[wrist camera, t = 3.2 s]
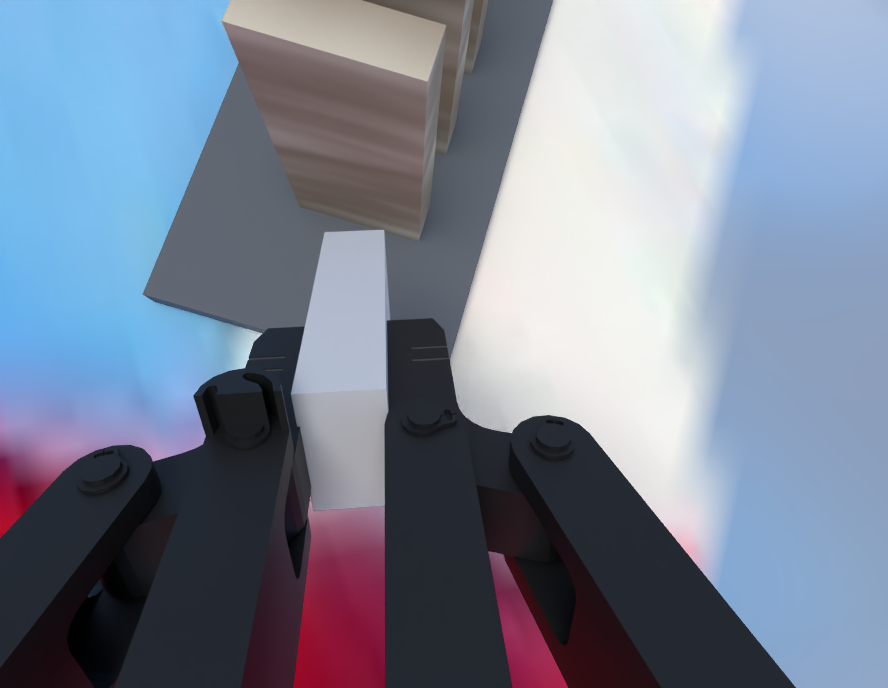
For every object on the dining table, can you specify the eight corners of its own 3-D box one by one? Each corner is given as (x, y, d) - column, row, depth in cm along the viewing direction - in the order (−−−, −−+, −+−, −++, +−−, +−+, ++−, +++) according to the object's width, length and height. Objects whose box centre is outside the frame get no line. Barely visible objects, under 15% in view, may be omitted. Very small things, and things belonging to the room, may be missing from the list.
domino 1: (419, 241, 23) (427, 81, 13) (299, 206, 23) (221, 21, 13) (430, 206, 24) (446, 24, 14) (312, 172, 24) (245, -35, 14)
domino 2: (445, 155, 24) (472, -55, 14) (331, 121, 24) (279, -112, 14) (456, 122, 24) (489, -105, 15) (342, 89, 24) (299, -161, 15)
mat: (441, 385, 23) (443, 382, 22) (153, 301, 23) (143, 294, 22) (603, -176, 29) (609, -198, 28) (377, -243, 29) (375, -267, 28)
